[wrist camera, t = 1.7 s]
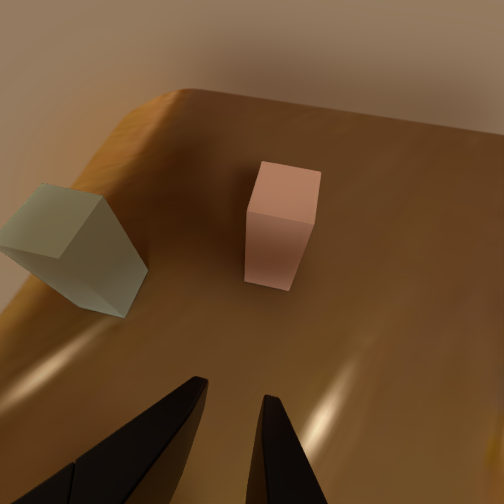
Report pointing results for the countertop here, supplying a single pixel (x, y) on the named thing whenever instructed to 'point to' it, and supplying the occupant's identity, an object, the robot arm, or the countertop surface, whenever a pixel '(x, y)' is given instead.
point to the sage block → (75, 248)
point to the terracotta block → (279, 223)
